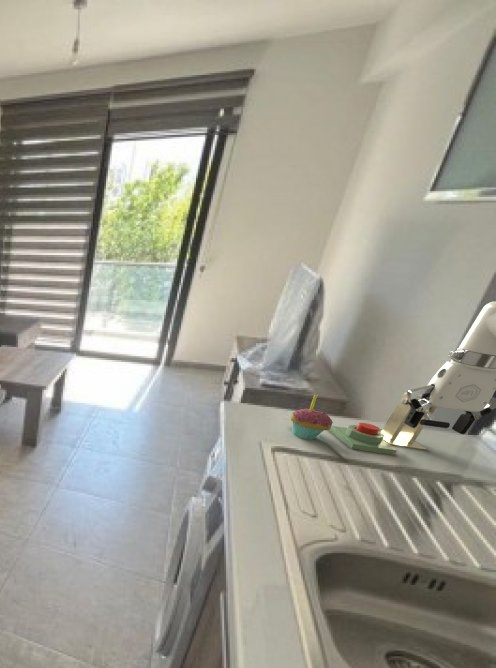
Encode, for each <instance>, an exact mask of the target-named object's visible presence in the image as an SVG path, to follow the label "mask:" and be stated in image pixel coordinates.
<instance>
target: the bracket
mask: <svg viewBox="0 0 496 668" xmlns="http://www.w3.org/2000/svg"><path fill="white" fill-rule="evenodd" d="M407 392H408V391H407ZM407 392H404V393H403V395H402V397H401V398H400V399H399V402H398V404H397V405H396V406H395V409H394V410H393V411H392V413H391V414H390V416H389V418H388V420H387V421H386V423H385V424H384V426H383V428H382V429H380V428H379V432H381V433H382V434H384V438H383V441H384V442H386V443H387V444H389V445H390V446H397V447H404V448H411V449H417V450H423V451H428V448H426V447H425V446H424V445H422V444H421V443H419V442H417V441H416V440H417V438H418V436H419V435H420V434H421V432H422V430H423V429H424V428H425V427H426V426H425V425H420V422H419V423H418V425H417V427H415V428H412V427H410V426H408V425H407V424H405V423H404V421H405V419H406V417H407V415H408V414H409V412H410V410H411V409H412V408H410V405H409V403H408V401H407V399H408V397H407ZM417 400H420V398H417ZM437 408H438V407H435V406H432V407H430V408H428V410H429V411H430V412H431V414H432V415H433V414H434V412H435V411H436V409H437ZM422 419H426V418H425V417H424V416H423V417H422ZM422 419H421V420H422ZM421 420H420V421H421Z"/></svg>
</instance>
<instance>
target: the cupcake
mask: <svg viewBox="0 0 496 668" xmlns="http://www.w3.org/2000/svg"><path fill="white" fill-rule="evenodd" d="M317 399H318V392H317V391H315V394H314V395H313V397H312V400H311V404H310V407H309V408H300V409H297V410H295V411H292V414H290V417H289V418H290V421H291V422H292V429H291V431H292V432H291V433H292V435H294V437H295V436H296V437H298V438H301V439H304V440H315V439H316V438H317V437H318V436H319V435H321V434H322V432H324V431H330V428H331V426H333V423H334V422H333V419H332V418H331V417H330V416H329V415H328V414H327V413H326V412H325V411H322V410H321V411H320V410H319V409H314V407H315V405H316V402H317Z"/></svg>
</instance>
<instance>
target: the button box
mask: <svg viewBox="0 0 496 668" xmlns="http://www.w3.org/2000/svg"><path fill="white" fill-rule="evenodd" d="M357 426H358V424H350V425H348V426H347V427H344V426H336V425H332V426H331V428H330V430H329V432H330V433H332V434H334V436H336V437H337V438H338V439H339V440H340V441H342V442H343V443H344V444H345V445H347V446H348V447H349V448H350V449H353V450H360V451H367V452H373V453H379V454H385V455H393V456H394V455H395V454H396V452H397V449H396V448H394V447H393V446H392V445H390V444H388V443H387V442H385V441H384V440H383V438H384V434H382V433H381V432H379V431H378V433H377V434H376V435H375V436H374V435H368V434H364V433H361V432H359V431H357V430H356V428H357Z"/></svg>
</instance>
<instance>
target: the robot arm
mask: <svg viewBox="0 0 496 668" xmlns="http://www.w3.org/2000/svg"><path fill="white" fill-rule="evenodd" d="M448 358H451V359H450V360H447V361H446V362H445V363H444V364H442V366H441V367H440V368H439V369H438V370H437V372H436V373H435V374H434V375H433V376H432V378H431V379H430V381H429V382H428V383H427V385H425V386H419V387H416V388H411V389H409V390H407V397H408V399H407V401H408V403H409V405H410V408H412V409H411V410H410V412H409V414H408V415H407V417H406V419H405V421H404V423H405V424H407V425H408V426H410V427H412V428H415V427H417V425H418V423H419V422H420V420H421V419H422V417H423V415H424V413H423V412H422V411H424V410H426V409H428V408H430V407H432V406H435V407H437V408H440V409H447V410H454V411H455V410H456V411H462V412H464V413H460V415H459V417H458V418H457V420H456V421H455V423H454V424H453V425H452V427H451V430H453V431H455V432H456V433H458V434H460V435H465V434H467V432H468V430H469V429H470V428H471V427H472V425H473V424H474V422H475V421H476V420H479V419H481V418H482V416H483V417H484V416H485V415H487V414H490V413H491V412H492V411H493V410H494V409H496V397H495V396H494V394H495V392H496V300H495V301H490V302H488V303H486V304H485V305H484V306H483V307H482V309H481V310H480V311H479V313H478V315H477V316H476V318H475V320H474V321H473V323H472V325H471V327H470V328H469V330H468V332H467V333H466V335H465V336H464V338H463V340H462V341H461V343H460V344H459V346H458V348H457V349H456V351H450V352H449V353H448ZM420 395H421V396H420ZM418 396H420V397H421V399H420V400H417V398H418Z"/></svg>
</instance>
